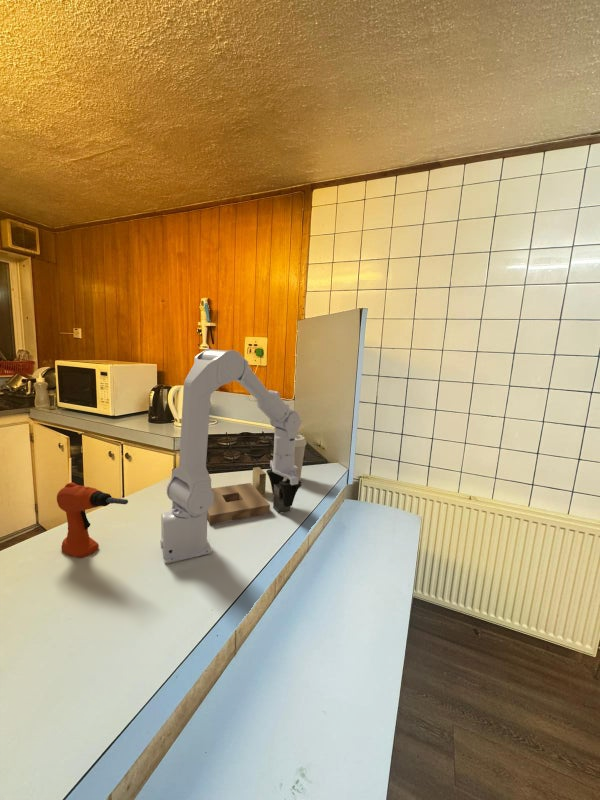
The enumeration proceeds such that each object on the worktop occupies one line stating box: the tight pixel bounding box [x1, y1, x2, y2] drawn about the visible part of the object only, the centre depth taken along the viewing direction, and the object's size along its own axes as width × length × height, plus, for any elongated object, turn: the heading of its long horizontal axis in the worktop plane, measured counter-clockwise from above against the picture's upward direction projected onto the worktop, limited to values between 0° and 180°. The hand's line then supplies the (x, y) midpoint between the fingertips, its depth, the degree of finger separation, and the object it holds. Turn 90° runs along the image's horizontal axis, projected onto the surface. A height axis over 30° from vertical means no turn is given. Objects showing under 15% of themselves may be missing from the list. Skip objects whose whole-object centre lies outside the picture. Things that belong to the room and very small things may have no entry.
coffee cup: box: [283, 434, 308, 481], centre depth 113 cm, size 10×10×15 cm
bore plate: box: [207, 482, 271, 526], centre depth 93 cm, size 16×16×2 cm
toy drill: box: [56, 481, 129, 559], centre depth 67 cm, size 5×19×15 cm, turn 70°
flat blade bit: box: [251, 466, 267, 497], centre depth 102 cm, size 2×6×7 cm, turn 27°
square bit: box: [272, 483, 291, 515], centre depth 92 cm, size 4×4×7 cm
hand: (282, 499), depth 92 cm, fingers open, 7 cm apart
